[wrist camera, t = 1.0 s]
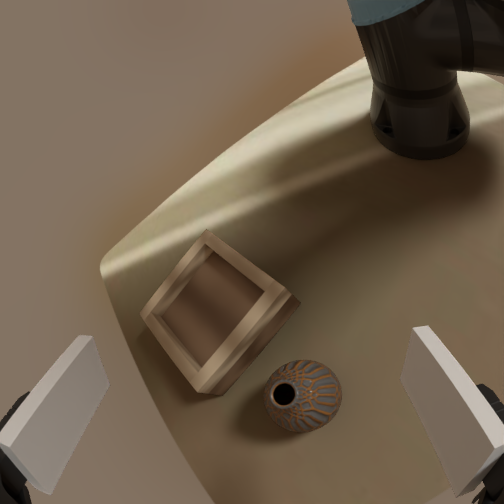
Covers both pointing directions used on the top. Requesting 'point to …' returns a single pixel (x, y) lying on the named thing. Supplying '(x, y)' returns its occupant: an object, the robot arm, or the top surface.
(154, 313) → the square wooden tray
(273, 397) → the vase
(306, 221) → the top surface
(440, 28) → the robot arm
